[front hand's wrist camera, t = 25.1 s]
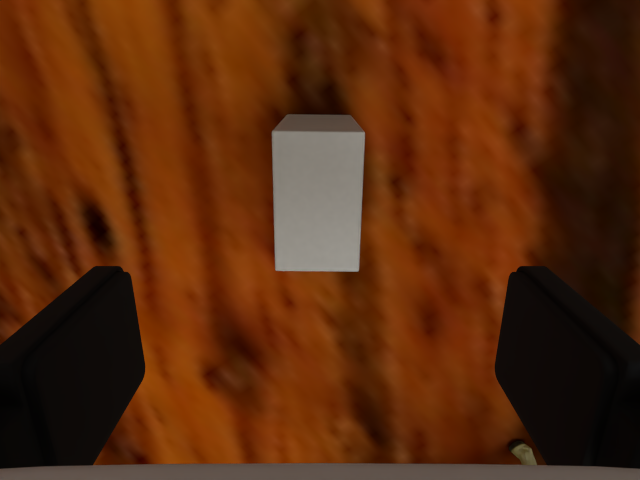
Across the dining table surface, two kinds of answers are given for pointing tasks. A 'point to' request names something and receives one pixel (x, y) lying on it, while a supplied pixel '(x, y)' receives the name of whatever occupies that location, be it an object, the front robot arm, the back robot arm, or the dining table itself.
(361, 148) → the brick
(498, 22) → the dining table surface
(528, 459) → the toy
